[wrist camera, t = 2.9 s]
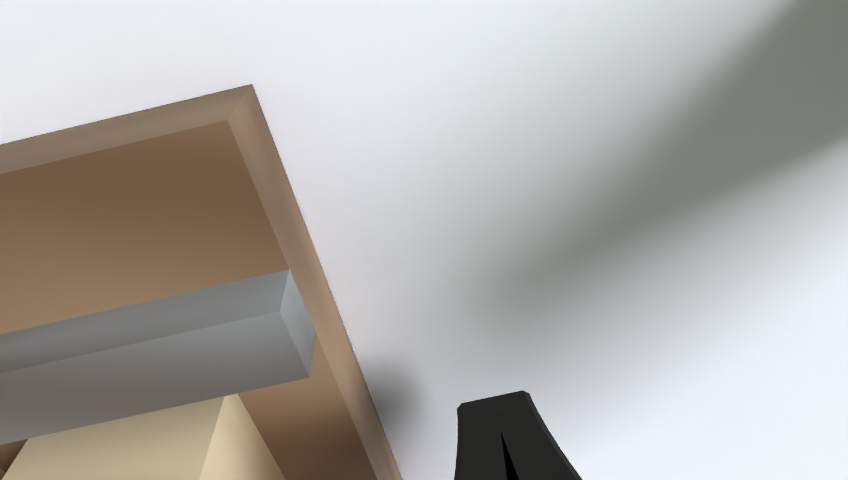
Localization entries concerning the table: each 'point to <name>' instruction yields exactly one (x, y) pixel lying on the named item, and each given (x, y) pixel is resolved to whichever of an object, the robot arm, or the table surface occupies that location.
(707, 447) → the table surface
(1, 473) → the beige cube
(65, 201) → the slot bed
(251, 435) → the light wooden cube
